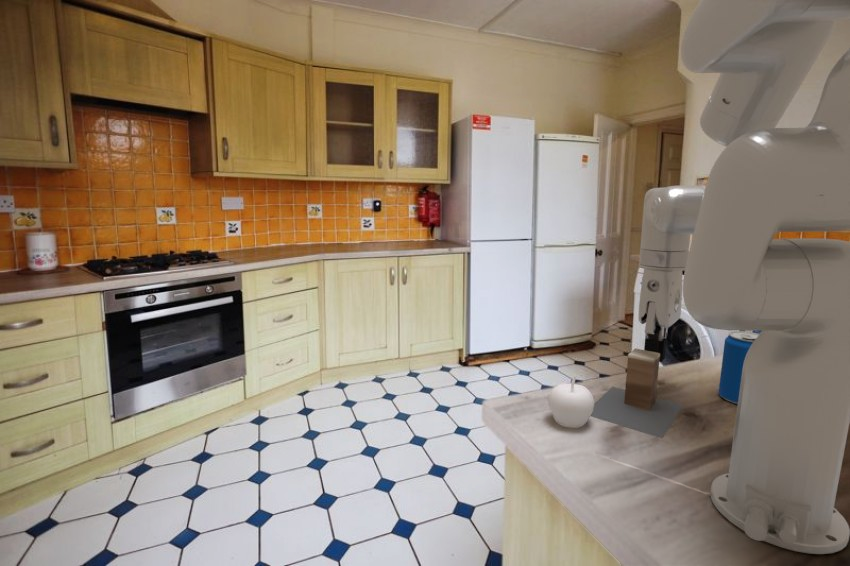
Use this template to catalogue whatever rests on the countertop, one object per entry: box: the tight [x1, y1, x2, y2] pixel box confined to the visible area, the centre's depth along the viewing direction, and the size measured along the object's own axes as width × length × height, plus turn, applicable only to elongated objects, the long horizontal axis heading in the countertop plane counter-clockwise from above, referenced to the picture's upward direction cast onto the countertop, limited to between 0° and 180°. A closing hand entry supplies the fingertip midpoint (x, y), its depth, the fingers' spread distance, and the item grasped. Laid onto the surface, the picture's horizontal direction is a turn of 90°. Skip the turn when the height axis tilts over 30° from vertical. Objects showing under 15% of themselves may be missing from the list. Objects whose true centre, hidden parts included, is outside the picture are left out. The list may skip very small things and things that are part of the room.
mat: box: [590, 386, 685, 439], centre depth 77 cm, size 14×12×1 cm
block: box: [624, 348, 660, 411], centre depth 78 cm, size 4×4×9 cm
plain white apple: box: [547, 375, 595, 429], centre depth 73 cm, size 7×7×8 cm
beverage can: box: [717, 330, 760, 405], centre depth 80 cm, size 6×6×12 cm
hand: (654, 359), depth 83 cm, fingers closed
